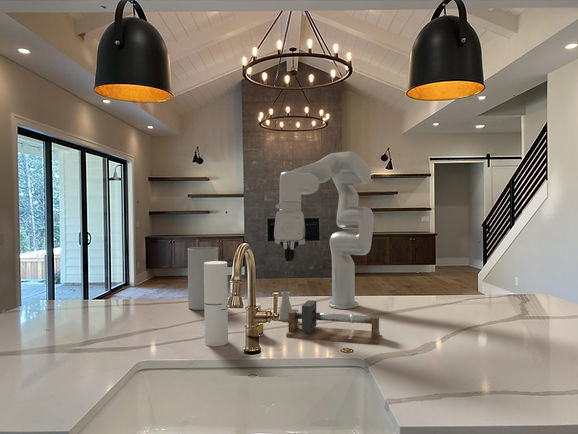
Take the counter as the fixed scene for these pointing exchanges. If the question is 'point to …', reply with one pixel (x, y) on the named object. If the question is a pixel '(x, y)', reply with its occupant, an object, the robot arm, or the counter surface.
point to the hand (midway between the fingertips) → (289, 260)
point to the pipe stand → (335, 332)
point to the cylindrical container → (216, 303)
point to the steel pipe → (337, 317)
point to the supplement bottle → (260, 324)
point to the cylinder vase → (198, 274)
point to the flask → (284, 307)
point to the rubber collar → (308, 316)
